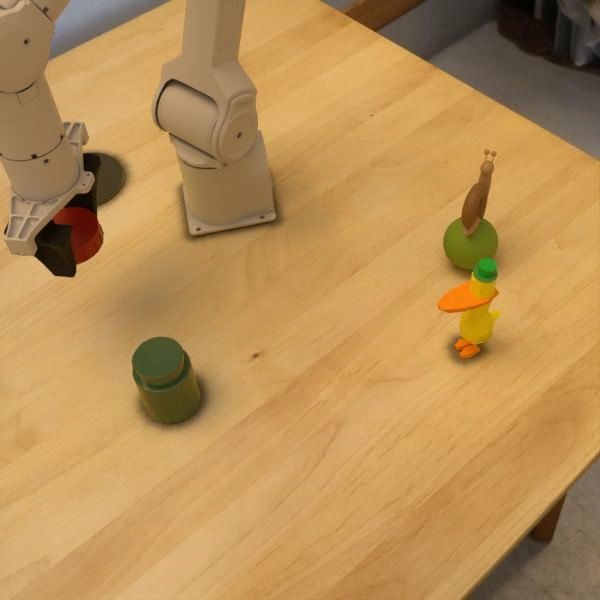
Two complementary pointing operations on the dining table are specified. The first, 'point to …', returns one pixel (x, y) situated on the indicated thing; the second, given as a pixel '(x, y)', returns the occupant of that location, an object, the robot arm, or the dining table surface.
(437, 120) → the dining table surface
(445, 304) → the toy figure
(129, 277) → the dining table surface
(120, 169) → the coaster
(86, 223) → the lid
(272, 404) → the dining table surface
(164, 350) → the jar
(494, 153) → the snail figurine
